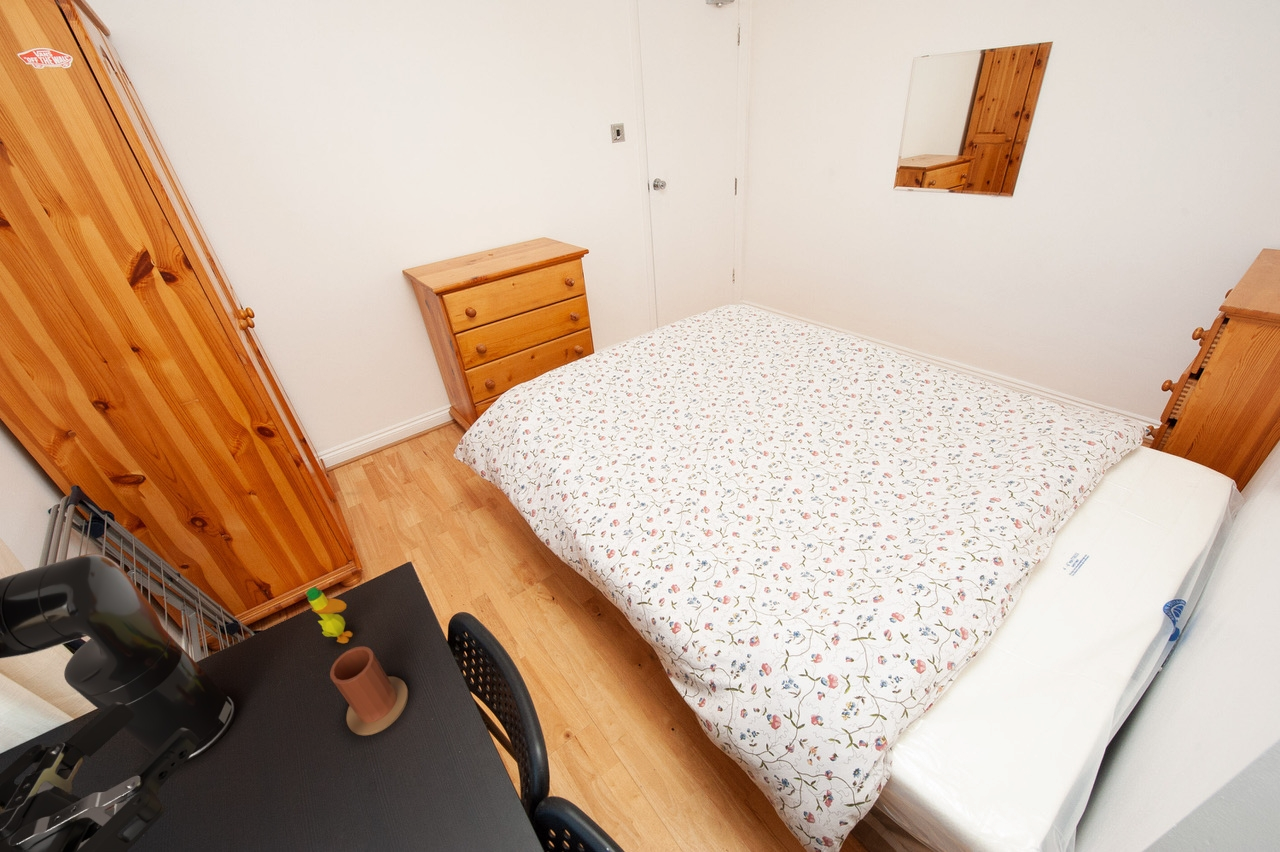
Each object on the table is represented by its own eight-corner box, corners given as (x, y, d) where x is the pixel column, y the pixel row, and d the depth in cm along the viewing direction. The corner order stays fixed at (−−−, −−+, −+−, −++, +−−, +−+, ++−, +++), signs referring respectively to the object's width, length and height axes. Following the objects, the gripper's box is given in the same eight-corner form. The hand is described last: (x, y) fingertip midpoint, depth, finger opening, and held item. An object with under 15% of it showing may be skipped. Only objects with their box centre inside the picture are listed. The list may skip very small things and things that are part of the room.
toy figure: (370, 629, 85) (342, 582, 79) (358, 648, 82) (328, 601, 76) (334, 628, 86) (304, 581, 80) (321, 647, 83) (288, 600, 77)
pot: (349, 717, 72) (320, 677, 67) (376, 682, 76) (351, 642, 71) (379, 727, 70) (352, 687, 65) (404, 691, 75) (381, 651, 69)
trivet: (334, 726, 72) (332, 724, 71) (376, 672, 78) (374, 670, 78) (381, 742, 69) (379, 740, 69) (420, 685, 76) (419, 683, 76)
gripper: (-110, 1014, 27) (191, 718, 40) (-230, 916, 31) (79, 676, 44) (-5, 1040, 31) (238, 763, 44) (-124, 950, 35) (131, 720, 48)
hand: (158, 719), depth 44 cm, fingers open, 8 cm apart
